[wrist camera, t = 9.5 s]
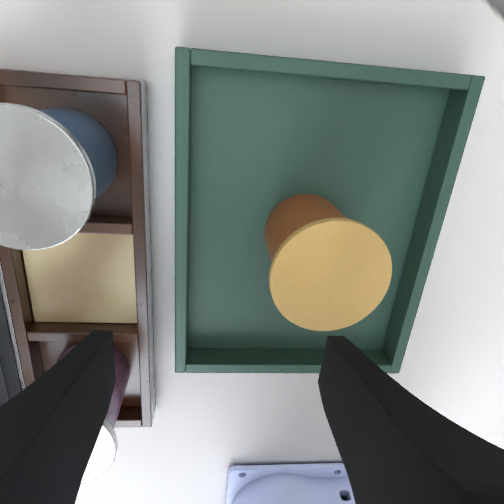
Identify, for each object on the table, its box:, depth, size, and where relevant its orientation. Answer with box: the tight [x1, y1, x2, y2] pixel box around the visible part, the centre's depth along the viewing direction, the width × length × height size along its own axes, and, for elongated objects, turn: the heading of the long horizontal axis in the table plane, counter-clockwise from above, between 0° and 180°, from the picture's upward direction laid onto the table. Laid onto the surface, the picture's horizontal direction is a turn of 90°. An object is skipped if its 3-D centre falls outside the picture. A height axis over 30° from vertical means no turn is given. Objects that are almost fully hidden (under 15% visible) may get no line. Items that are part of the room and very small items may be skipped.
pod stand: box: [0, 69, 155, 427], centre depth 20 cm, size 7×20×2 cm, turn 175°
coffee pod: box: [264, 194, 392, 331], centre depth 18 cm, size 5×5×5 cm
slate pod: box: [0, 103, 117, 250], centre depth 15 cm, size 5×5×5 cm
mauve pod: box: [55, 344, 130, 483], centre depth 20 cm, size 5×5×5 cm
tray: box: [175, 47, 485, 373], centre depth 20 cm, size 13×16×2 cm
